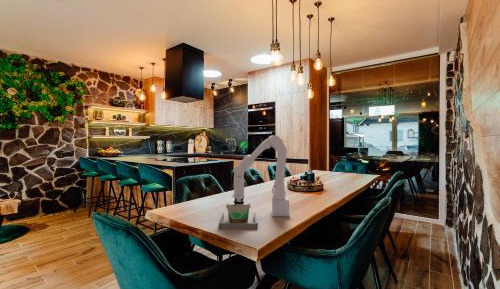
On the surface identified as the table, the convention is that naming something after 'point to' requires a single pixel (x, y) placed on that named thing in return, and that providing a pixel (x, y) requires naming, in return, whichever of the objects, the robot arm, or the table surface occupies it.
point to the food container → (238, 213)
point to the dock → (238, 224)
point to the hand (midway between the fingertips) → (239, 211)
